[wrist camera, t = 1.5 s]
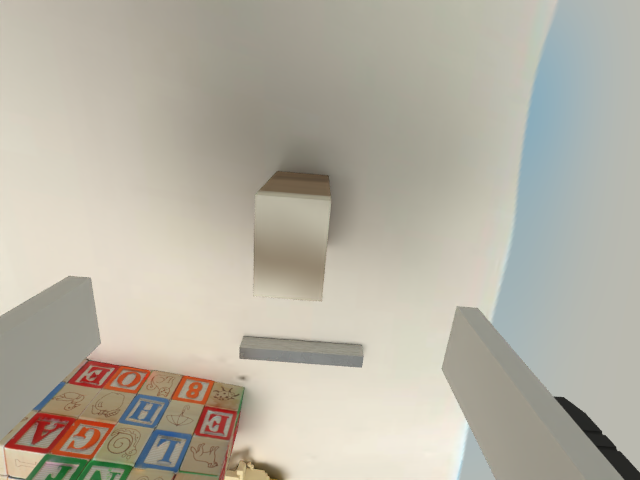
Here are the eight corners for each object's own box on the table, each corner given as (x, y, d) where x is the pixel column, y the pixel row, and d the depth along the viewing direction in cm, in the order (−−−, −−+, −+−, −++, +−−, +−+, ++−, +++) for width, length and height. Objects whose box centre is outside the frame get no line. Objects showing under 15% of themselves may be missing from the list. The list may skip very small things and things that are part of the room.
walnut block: (277, 171, 26) (254, 194, 17) (328, 175, 26) (331, 201, 17) (274, 243, 28) (253, 296, 19) (322, 247, 28) (321, 301, 19)
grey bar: (243, 336, 31) (239, 347, 29) (361, 345, 31) (363, 356, 30) (243, 347, 31) (239, 358, 30) (360, 355, 31) (361, 367, 30)
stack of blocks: (28, 396, 34) (-126, 541, 22) (24, 346, 32) (-150, 475, 20) (238, 431, 35) (196, 585, 23) (246, 385, 33) (205, 528, 21)
